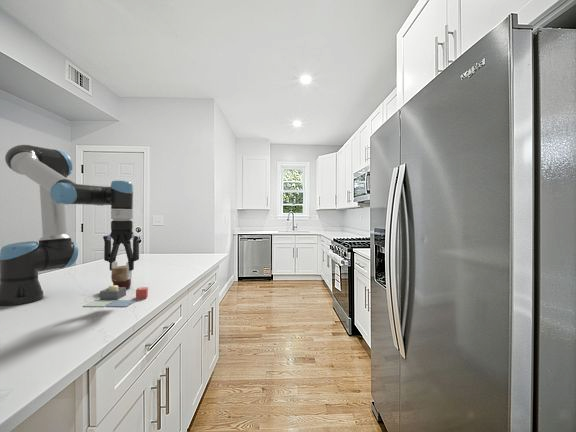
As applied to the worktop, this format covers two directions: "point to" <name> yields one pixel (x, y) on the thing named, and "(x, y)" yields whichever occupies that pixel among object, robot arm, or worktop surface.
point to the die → (142, 293)
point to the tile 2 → (120, 303)
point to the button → (113, 288)
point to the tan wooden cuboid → (119, 273)
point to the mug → (122, 283)
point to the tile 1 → (99, 303)
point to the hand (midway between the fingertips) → (121, 278)
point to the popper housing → (112, 294)
